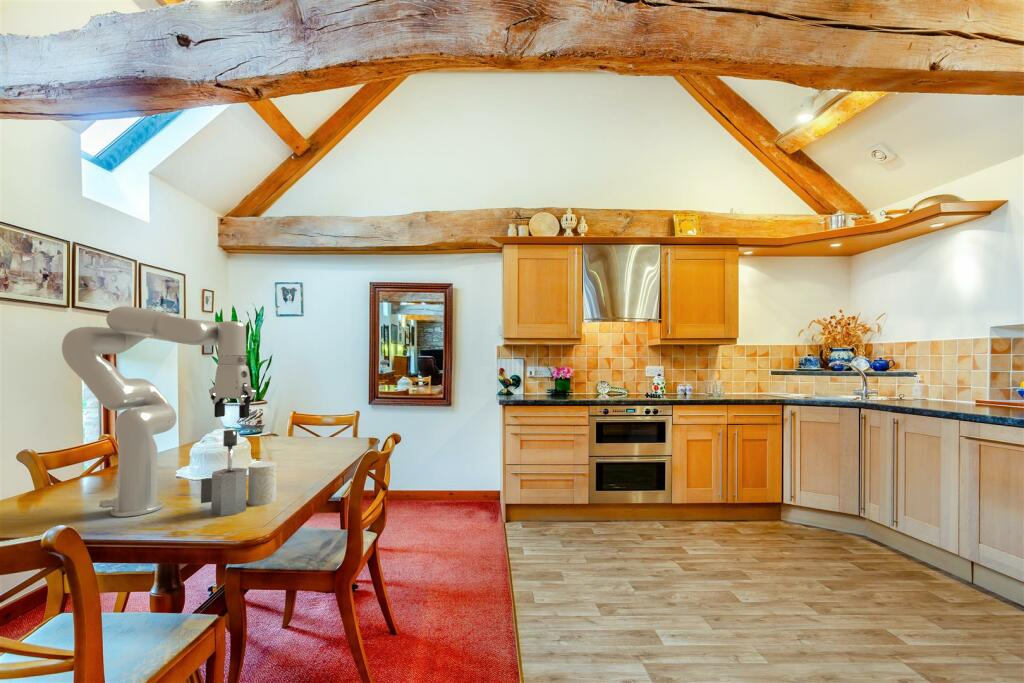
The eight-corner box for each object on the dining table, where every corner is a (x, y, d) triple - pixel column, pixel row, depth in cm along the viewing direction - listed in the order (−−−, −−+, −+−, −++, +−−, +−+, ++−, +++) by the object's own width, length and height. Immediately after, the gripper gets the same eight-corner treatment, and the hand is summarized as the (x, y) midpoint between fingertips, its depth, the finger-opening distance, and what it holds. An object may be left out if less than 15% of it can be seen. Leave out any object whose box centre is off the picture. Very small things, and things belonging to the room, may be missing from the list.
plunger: (222, 488, 146) (223, 431, 146) (223, 485, 149) (224, 430, 149) (236, 487, 147) (236, 431, 148) (236, 484, 150) (237, 429, 151)
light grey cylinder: (251, 507, 152) (251, 468, 152) (245, 500, 158) (246, 464, 158) (279, 502, 157) (279, 464, 157) (272, 496, 163) (273, 460, 163)
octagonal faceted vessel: (199, 519, 141) (199, 477, 141) (202, 510, 149) (203, 470, 149) (245, 513, 146) (246, 473, 146) (246, 504, 154) (246, 466, 154)
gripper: (264, 361, 150) (264, 416, 149) (221, 361, 155) (220, 414, 155) (243, 361, 143) (243, 419, 142) (199, 361, 148) (199, 417, 148)
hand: (231, 417), depth 148 cm, fingers open, 9 cm apart
